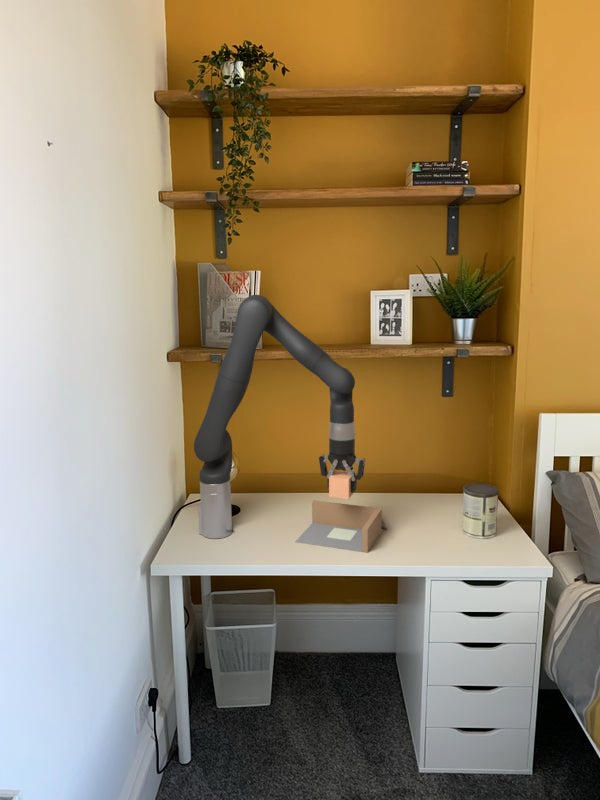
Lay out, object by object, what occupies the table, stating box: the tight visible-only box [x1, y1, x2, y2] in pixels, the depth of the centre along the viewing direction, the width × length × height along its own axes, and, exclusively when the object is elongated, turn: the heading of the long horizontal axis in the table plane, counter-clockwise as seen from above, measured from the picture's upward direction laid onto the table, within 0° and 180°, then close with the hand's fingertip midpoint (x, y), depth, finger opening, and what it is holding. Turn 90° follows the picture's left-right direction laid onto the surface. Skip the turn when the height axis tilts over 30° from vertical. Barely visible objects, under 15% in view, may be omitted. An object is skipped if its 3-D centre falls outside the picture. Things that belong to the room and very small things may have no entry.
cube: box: [328, 470, 355, 500], centre depth 185 cm, size 6×6×6 cm
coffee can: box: [461, 482, 500, 540], centre depth 189 cm, size 10×10×14 cm
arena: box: [294, 500, 383, 554], centre depth 186 cm, size 22×17×8 cm
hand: (342, 490), depth 185 cm, fingers closed on cube, 6 cm apart
